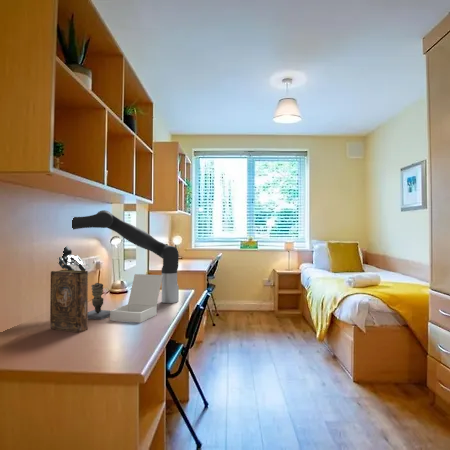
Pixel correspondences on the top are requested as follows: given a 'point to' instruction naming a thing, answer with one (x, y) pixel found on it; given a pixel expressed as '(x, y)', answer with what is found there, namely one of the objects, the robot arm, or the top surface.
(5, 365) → the top surface
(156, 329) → the top surface
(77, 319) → the book
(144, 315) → the box
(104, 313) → the mat
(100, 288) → the twisted stone column
